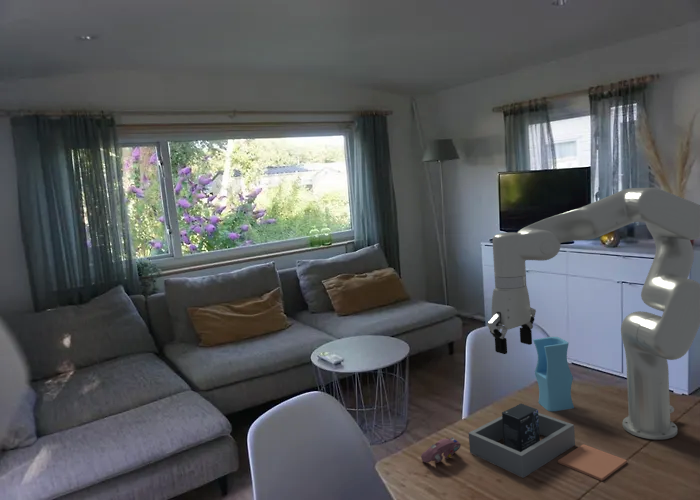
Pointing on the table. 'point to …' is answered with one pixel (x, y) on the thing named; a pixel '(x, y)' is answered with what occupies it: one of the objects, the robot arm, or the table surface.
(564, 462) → the mat
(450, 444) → the video game controller
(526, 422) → the box
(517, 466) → the enclosure
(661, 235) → the robot arm
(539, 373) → the vase
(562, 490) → the table surface
